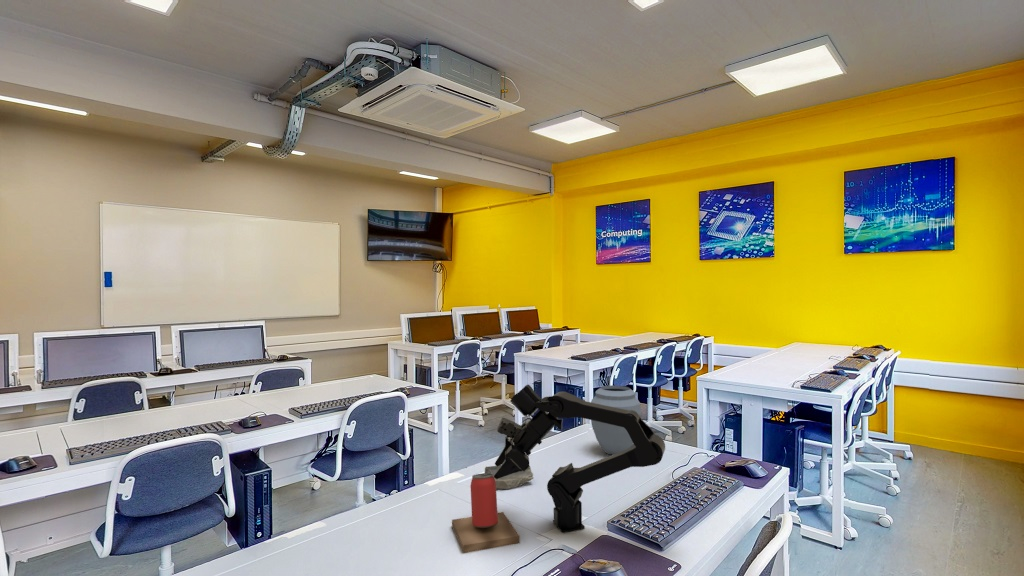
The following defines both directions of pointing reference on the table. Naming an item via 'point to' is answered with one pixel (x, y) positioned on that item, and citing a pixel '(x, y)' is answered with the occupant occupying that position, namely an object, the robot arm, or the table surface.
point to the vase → (611, 435)
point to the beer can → (484, 500)
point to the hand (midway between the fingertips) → (495, 471)
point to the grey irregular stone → (510, 477)
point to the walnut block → (484, 534)
